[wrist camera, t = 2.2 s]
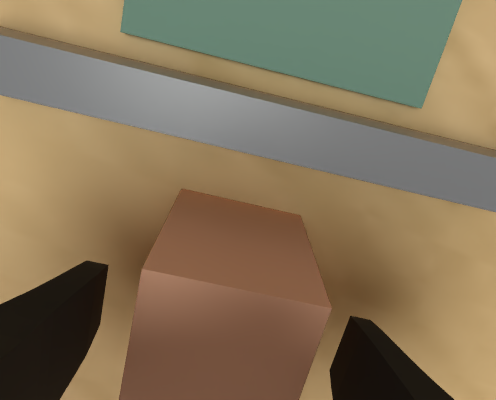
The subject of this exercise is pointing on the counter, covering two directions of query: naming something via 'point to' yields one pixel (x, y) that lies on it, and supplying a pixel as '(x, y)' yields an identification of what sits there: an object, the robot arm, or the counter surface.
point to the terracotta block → (225, 306)
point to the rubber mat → (311, 38)
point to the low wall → (243, 120)
